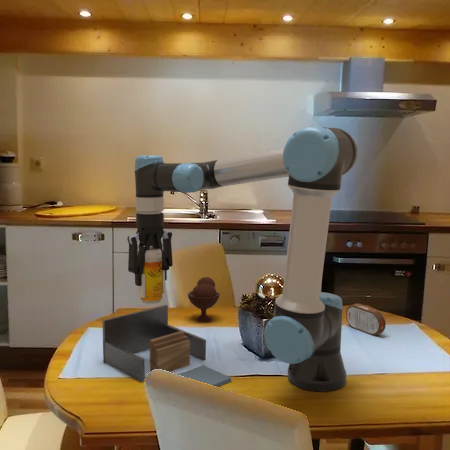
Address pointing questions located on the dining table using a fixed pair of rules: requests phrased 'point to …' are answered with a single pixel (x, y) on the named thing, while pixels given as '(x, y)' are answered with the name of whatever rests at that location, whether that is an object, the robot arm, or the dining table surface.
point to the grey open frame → (140, 339)
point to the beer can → (153, 276)
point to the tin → (365, 319)
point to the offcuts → (170, 352)
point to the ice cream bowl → (204, 297)
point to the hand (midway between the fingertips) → (151, 294)
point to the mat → (207, 376)
